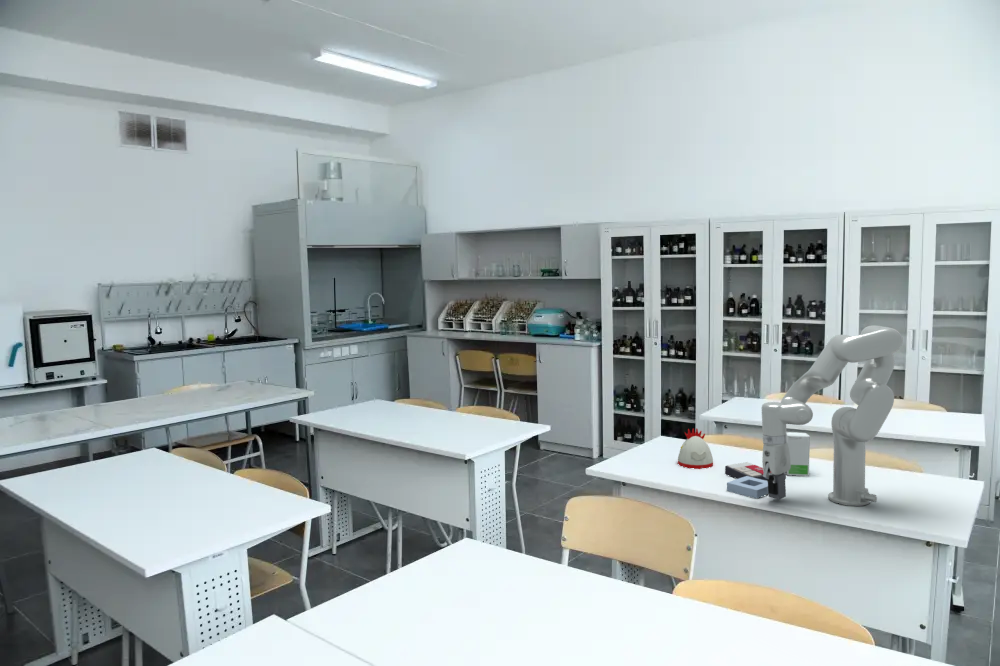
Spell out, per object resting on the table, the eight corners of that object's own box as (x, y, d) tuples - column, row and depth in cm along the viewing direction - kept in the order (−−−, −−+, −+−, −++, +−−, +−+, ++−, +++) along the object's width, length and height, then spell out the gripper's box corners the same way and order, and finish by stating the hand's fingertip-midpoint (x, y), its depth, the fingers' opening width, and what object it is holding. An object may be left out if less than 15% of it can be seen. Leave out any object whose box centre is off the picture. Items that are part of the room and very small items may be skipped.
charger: (785, 496, 231) (784, 473, 230) (779, 499, 229) (778, 475, 228) (775, 494, 234) (774, 470, 234) (768, 497, 232) (767, 473, 231)
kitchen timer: (674, 460, 286) (674, 425, 285) (707, 459, 286) (707, 424, 285) (682, 469, 272) (681, 432, 271) (717, 468, 272) (716, 431, 271)
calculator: (751, 476, 250) (724, 463, 264) (751, 487, 250) (724, 474, 264) (775, 472, 254) (747, 460, 268) (775, 483, 254) (747, 471, 268)
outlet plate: (776, 491, 242) (776, 483, 241) (756, 498, 234) (756, 490, 234) (746, 483, 251) (746, 475, 251) (726, 490, 244) (726, 482, 244)
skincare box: (786, 475, 259) (786, 435, 258) (782, 471, 266) (782, 431, 265) (810, 476, 258) (810, 435, 257) (805, 471, 264) (805, 431, 263)
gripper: (770, 445, 222) (773, 500, 223) (798, 436, 232) (800, 488, 233) (750, 442, 228) (752, 495, 229) (778, 432, 238) (780, 484, 239)
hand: (777, 491), depth 231 cm, fingers closed on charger, 4 cm apart
